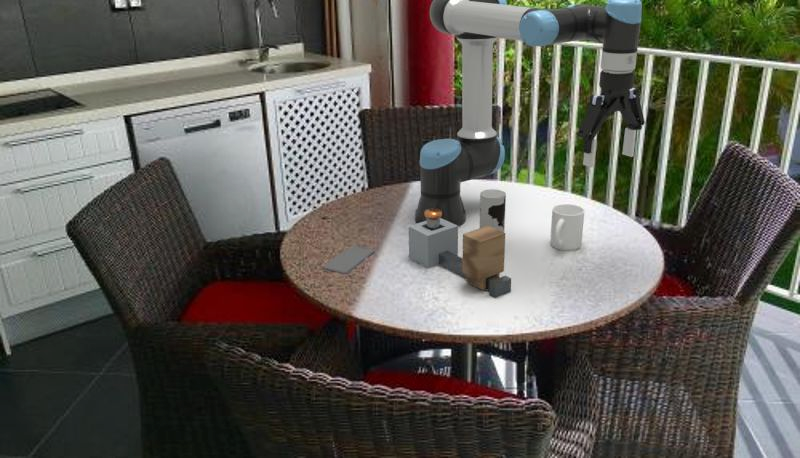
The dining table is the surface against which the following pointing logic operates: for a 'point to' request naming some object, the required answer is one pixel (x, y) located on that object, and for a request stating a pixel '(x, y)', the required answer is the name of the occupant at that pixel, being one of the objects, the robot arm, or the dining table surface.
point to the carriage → (483, 255)
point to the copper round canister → (433, 218)
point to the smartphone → (348, 259)
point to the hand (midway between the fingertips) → (608, 160)
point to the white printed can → (492, 209)
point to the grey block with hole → (432, 242)
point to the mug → (567, 226)
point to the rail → (454, 264)
